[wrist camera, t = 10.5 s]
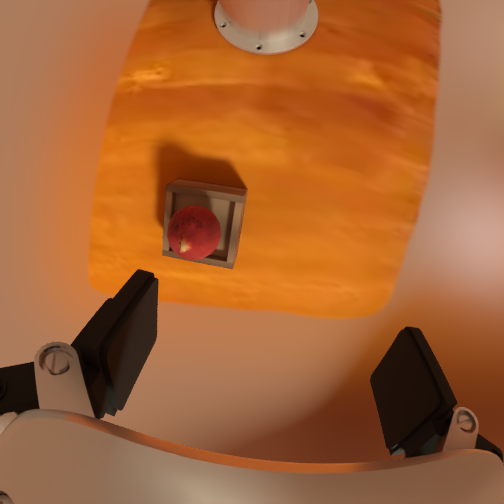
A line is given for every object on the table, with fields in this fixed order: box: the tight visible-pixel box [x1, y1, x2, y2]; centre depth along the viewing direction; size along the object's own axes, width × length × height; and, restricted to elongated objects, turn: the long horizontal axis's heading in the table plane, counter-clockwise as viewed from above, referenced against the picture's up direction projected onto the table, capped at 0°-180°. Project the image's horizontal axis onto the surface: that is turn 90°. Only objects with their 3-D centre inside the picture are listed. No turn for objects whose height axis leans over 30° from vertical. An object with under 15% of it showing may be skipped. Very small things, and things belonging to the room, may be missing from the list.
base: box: [162, 179, 248, 269], centre depth 34 cm, size 9×9×4 cm
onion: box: [167, 205, 221, 260], centre depth 30 cm, size 6×6×8 cm
